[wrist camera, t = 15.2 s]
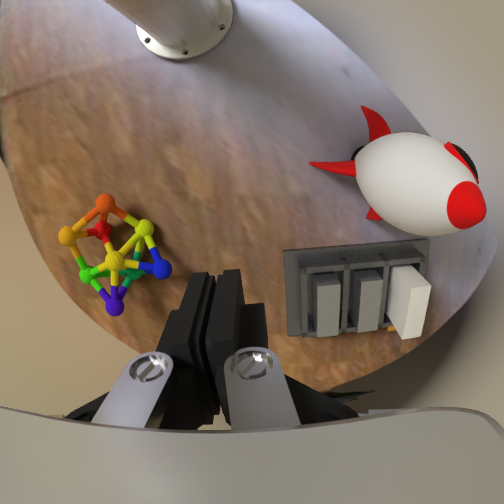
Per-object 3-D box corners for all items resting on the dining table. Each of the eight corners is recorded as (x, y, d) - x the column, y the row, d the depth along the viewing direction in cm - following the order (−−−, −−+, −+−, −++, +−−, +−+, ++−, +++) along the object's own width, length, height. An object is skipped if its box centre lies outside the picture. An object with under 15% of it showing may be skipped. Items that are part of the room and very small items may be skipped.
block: (389, 262, 44) (411, 288, 37) (407, 261, 44) (431, 285, 37) (383, 309, 47) (402, 339, 40) (400, 307, 47) (420, 336, 40)
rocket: (415, 163, 39) (547, 213, 16) (366, 218, 43) (465, 316, 19) (361, 105, 37) (481, 90, 14) (308, 163, 40) (377, 214, 17)
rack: (283, 250, 44) (287, 267, 39) (427, 238, 43) (445, 252, 38) (287, 333, 49) (290, 356, 44) (416, 317, 49) (430, 336, 43)
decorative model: (126, 177, 37) (177, 289, 38) (142, 188, 46) (184, 280, 47) (44, 225, 36) (90, 331, 37) (71, 228, 44) (110, 316, 46)
